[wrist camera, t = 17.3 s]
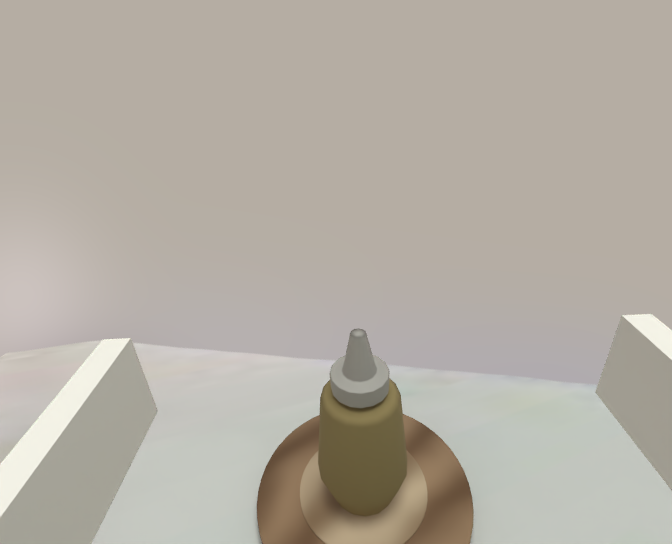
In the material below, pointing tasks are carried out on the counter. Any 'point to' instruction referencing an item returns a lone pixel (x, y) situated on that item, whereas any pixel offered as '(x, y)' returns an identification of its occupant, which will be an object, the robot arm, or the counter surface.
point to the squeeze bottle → (361, 431)
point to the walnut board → (375, 530)
